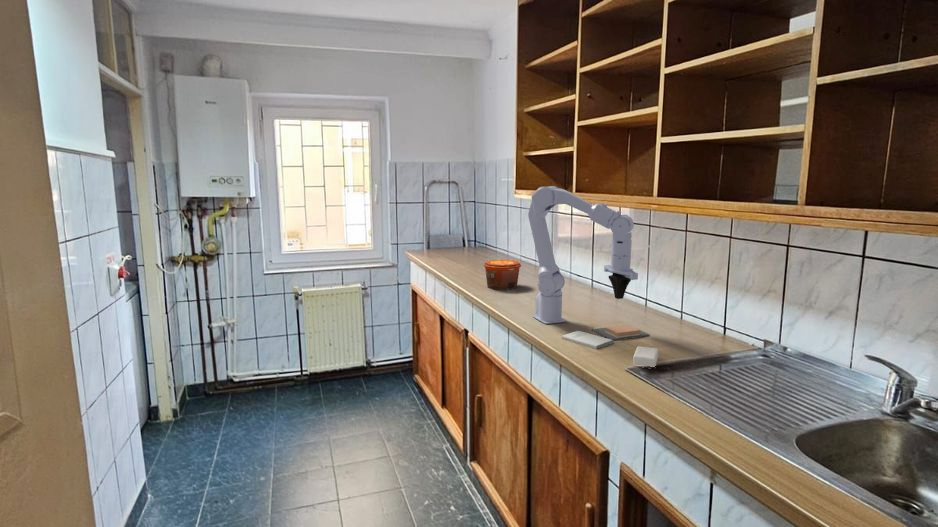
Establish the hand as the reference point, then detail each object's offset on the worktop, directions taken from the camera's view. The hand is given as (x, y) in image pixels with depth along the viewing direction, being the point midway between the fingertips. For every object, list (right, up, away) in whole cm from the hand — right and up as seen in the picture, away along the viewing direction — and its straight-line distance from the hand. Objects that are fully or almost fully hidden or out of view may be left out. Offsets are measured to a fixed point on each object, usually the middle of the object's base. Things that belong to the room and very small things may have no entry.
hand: (619, 298), depth 160 cm
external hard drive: (-12, -13, -9) cm, 20 cm away
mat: (0, -10, -2) cm, 11 cm away
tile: (-1, -9, -1) cm, 9 cm away
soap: (-1, -15, -26) cm, 30 cm away
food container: (-32, +1, +63) cm, 70 cm away
